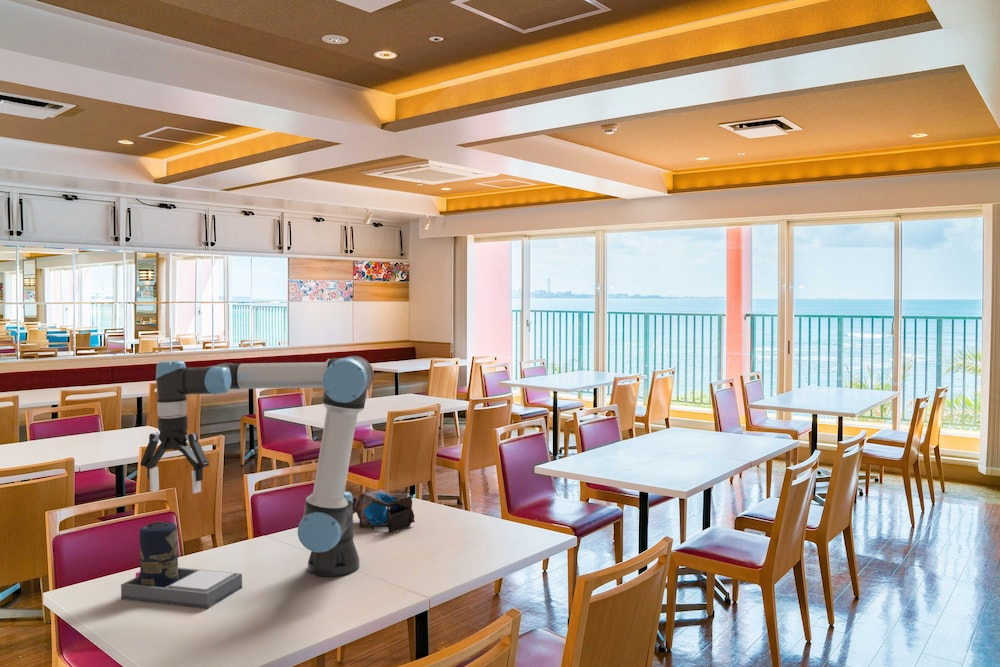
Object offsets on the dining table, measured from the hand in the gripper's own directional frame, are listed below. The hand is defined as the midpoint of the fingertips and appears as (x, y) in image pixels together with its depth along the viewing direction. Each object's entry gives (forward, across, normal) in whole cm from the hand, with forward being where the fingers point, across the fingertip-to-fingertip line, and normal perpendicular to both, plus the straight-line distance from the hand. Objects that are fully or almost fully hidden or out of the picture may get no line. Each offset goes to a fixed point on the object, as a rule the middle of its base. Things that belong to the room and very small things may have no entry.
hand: (175, 491), depth 207 cm
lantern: (+28, -31, -68) cm, 80 cm away
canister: (+26, +4, +4) cm, 26 cm away
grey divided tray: (+27, -4, +4) cm, 28 cm away
